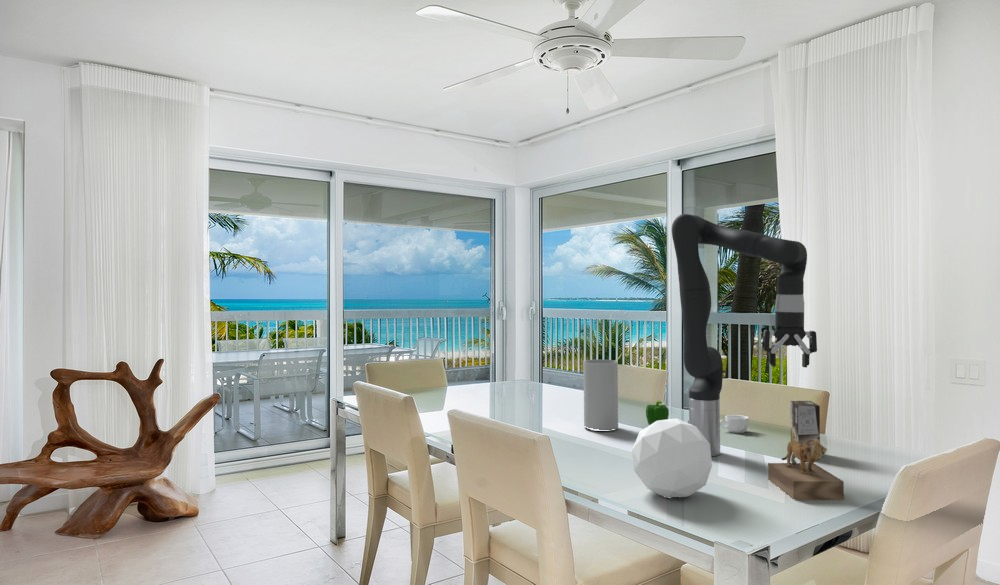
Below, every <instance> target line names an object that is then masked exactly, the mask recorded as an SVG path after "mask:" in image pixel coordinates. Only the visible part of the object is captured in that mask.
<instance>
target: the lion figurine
mask: <svg viewBox="0 0 1000 585" xmlns="http://www.w3.org/2000/svg"><path fill="white" fill-rule="evenodd" d="M786 449H787V450H786V452H787V454H786V456H784V457H782V458H780V459H781V460H782V461H787V462H786V463H787V467H791V466H792V465H791V464H790V463H794V464H796V463H797V461H796V459H798V460H799V463H800V464H801V473H802V474H806V470H805V463H808V471H809V472H810V473H814V470H812V465H813V463H814V464H815V463H817V460H820V459H821V457H822V456H825V455H826V454H825V453H827V450H828V448H826V447H825V446H823V445H822V443H821V439H820V440H817V439H813V440H809V441H807V442H803V443H802V444H801V445H800V444H799V442H797V441H794V440H792V441H791V440H790V441H789V442H788V443H787V446H786ZM819 458H820V459H819Z"/></svg>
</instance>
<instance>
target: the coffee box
mask: <svg viewBox="0 0 1000 585" xmlns="http://www.w3.org/2000/svg"><path fill="white" fill-rule="evenodd" d="M789 401H790V408H789V409H790V410H789V411H790V414H789V415H790V416H789V417H790V441H792V440H794V441H797V442H799V444H800V445H801V444H802V443H803V442H807V441H809V440H813V439H817V440H820V441H821V436H820V435H821V419H820V418H821V414H820V412H821V411H820V410H821V409H820V408H821V406H820V405H819V404H818V403H815V402H814V401H811V400H789ZM820 459H821V458H819V459H818V460H820Z"/></svg>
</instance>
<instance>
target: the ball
mask: <svg viewBox="0 0 1000 585" xmlns="http://www.w3.org/2000/svg"><path fill="white" fill-rule="evenodd" d="M631 452H632V453H631V454H632V461H633V462H632V463H633V471H634V473H635V474H636V475H637V477H638V478H639V479H640V480H641V482H642V483H643V485H644V487H646V488H647V490H649V491H652V492H654V493H655V494H657V495H659V496H661V495H662V496H661V497H663V496H665V497H679V498H685V497H690V496H691V495H693V494H694V493H696V492H698V491H699V490H701V489H702V488H703V487H705V486H707V482H708V479H709V476H710V474H711V470H712V468H713V460H712V456H711V450H710V444H709V442H708V441H707V440H706V439H705V437H704V436H703V435H702V433H701V432H700V431H699V429H698V428H697V427H696V426H694V425H691V424H689V423H688V421H683V420H681V419H679V418H676V417H675V418H668V419H666V420H658V421H656V422H654V423H652V424H651V425H649V424H648V426H646V427H645V428H642V430H640V431H638V435H637V438H636V439H635V441H634V444H633V447H632V449H631ZM665 497H664V498H665Z"/></svg>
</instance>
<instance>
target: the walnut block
mask: <svg viewBox="0 0 1000 585" xmlns="http://www.w3.org/2000/svg"><path fill="white" fill-rule="evenodd" d="M790 464H791V465H792V466H791V467H787V462H768V463H767V475H768V476H767V479H768V481H769V480H770V481H769V482H770V483H772V484H773V485H774V484H775V485H774V486H775V487H776V488H778V487H779V488H780V489H779V488H778V489H779V490H780V491H782V492H783V493H784V492H785V495H787V496H788V495H789V496H790V499H792V500H793V499H795V501H797V500H799V501H801V500H803V501H806V500H807V501H809V500H810V501H814V500H815V501H819V500H820V501H821V500H822V501H844V500H845V498H844V496H845V495H844V493H845V489H844V487H845V486H844V480H842V479H841V478H839V477H837V476H836V475H835V474H832V473H831V472H829V471H828V470H825V469H824V468H823V467H821V466H819V465H817V464H815V463H813V465H812V470H814V473H810V472H809V471H808V463H807V462H805V470H806V474H802V473H801V464H800V462H796V464H794V463H792V462H790ZM789 496H788V497H789Z"/></svg>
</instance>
